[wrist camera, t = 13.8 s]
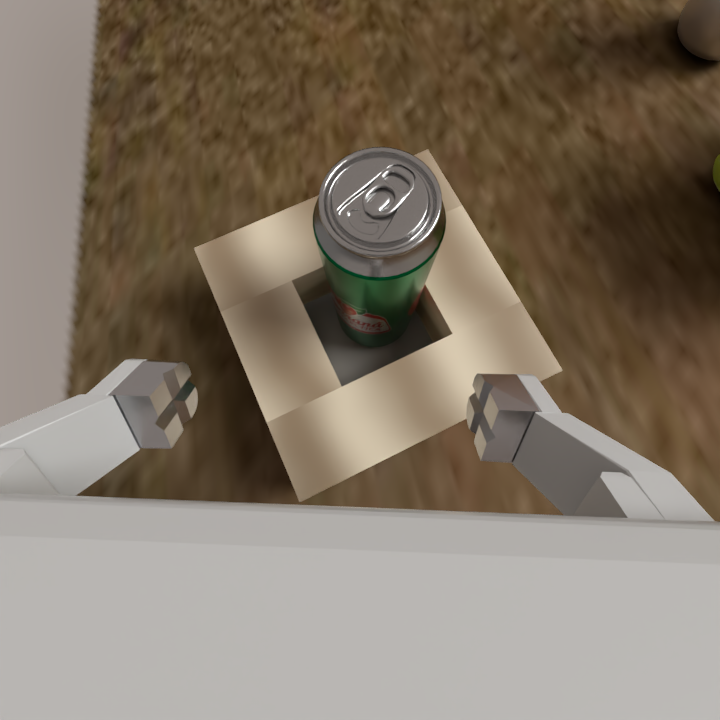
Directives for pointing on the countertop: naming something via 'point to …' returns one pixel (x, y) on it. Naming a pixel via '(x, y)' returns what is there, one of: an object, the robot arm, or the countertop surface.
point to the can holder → (357, 362)
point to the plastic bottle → (701, 28)
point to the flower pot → (717, 172)
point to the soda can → (378, 239)
